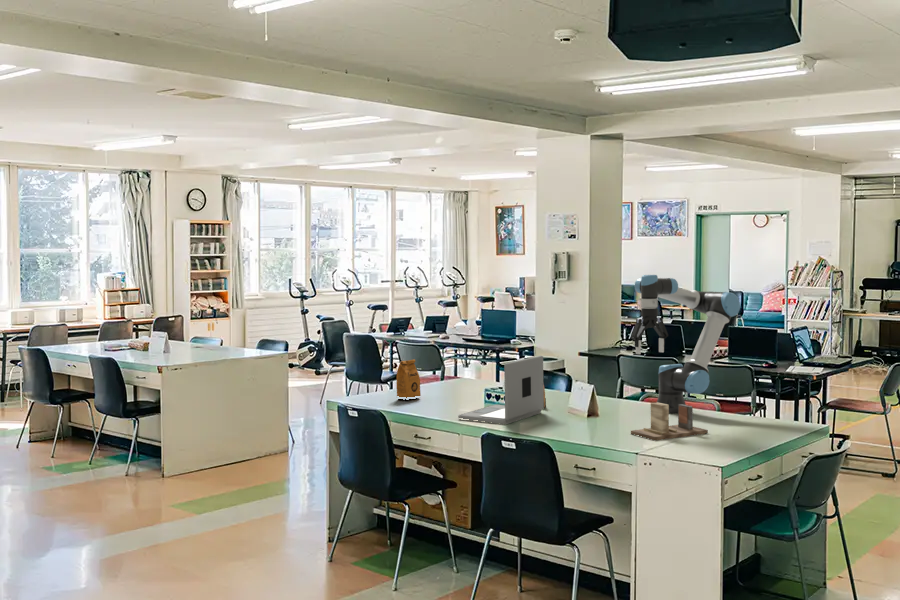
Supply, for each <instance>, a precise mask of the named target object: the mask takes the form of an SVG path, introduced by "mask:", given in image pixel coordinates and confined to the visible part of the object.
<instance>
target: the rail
mask: <svg viewBox="0 0 900 600" xmlns="http://www.w3.org/2000/svg"><path fill="white" fill-rule="evenodd" d="M693 415H694V413H693V406H692V405H687V404H686V405H683V404H680V405H678V413H677V418H678V420H677V421H678V422H677V424H673V425H669V433H662V432H659V431H655V430H651V427H650V428H648V427H643V429H632V430H630V435H632V434H635V435H634V436H636V435H639V436H638V437H640V436H642V437H641V438H643V437H646V438H645V439H647V438H649V439H648V440H650V439H652V441H654V440H656V441H662V440H661V439H663V440H669V439H679V438H685V437H691V436H690V435H693V436H698V435H697V434H700V435H706V434H705V433H708V434H709V431H708V429H706V428H701V427H696V426H694V425H693V423H694V419H693V418H694V416H693Z"/></svg>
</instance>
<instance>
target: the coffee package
mask: <svg viewBox="0 0 900 600" xmlns="http://www.w3.org/2000/svg"><path fill="white" fill-rule="evenodd" d="M415 363H416V359H409V360H401V361H400V362H399V364H398V368H397V371H396V385H395V386H396V397H397V396H399V397H406V398H407V397H415V396H421V397H422V395H421V378H420V374H419V371H418V370H417V367H416V364H415Z"/></svg>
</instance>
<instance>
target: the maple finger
mask: <svg viewBox="0 0 900 600" xmlns="http://www.w3.org/2000/svg"><path fill="white" fill-rule="evenodd" d="M669 415H670V413H669V405H668V404H663V403H658V402H657V401H656V402H651V403H650V428H651V430H655V431H659V432H662V433H669V426H670V424H669V422H670V420H669V419H670V417H669Z"/></svg>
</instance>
